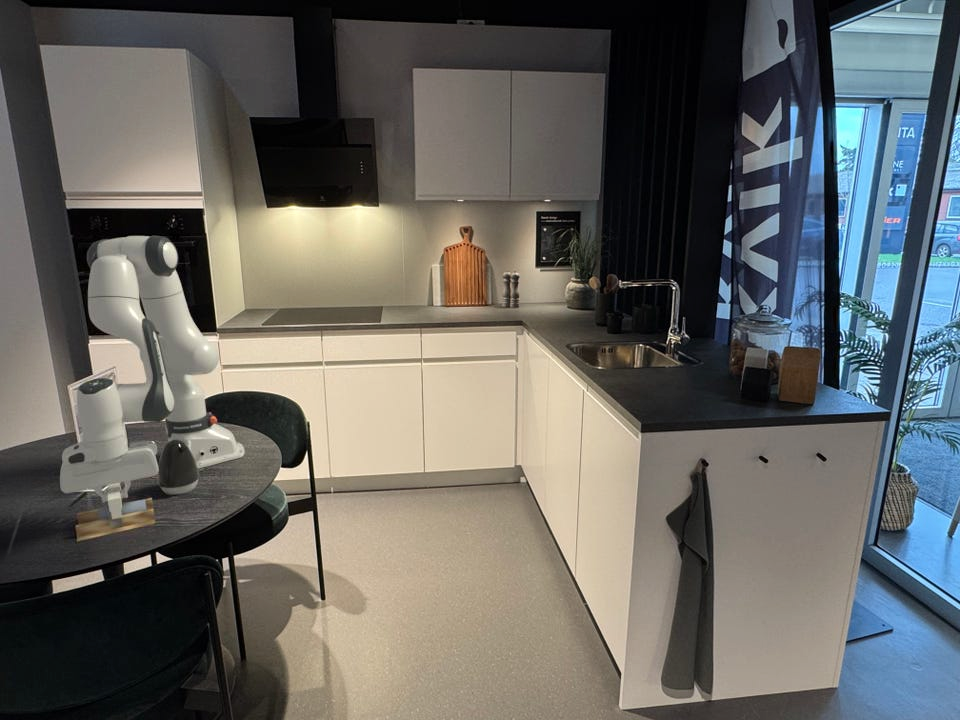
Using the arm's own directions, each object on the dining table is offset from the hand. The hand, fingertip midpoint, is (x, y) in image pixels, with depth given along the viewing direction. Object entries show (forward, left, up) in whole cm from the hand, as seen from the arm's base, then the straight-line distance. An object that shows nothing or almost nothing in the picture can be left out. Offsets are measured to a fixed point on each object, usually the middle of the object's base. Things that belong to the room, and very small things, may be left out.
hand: (115, 499), depth 143 cm
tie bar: (0, 0, -1) cm, 1 cm away
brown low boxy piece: (+4, 0, -7) cm, 8 cm away
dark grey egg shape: (-15, -12, -7) cm, 20 cm away
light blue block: (-1, 0, -6) cm, 6 cm away
